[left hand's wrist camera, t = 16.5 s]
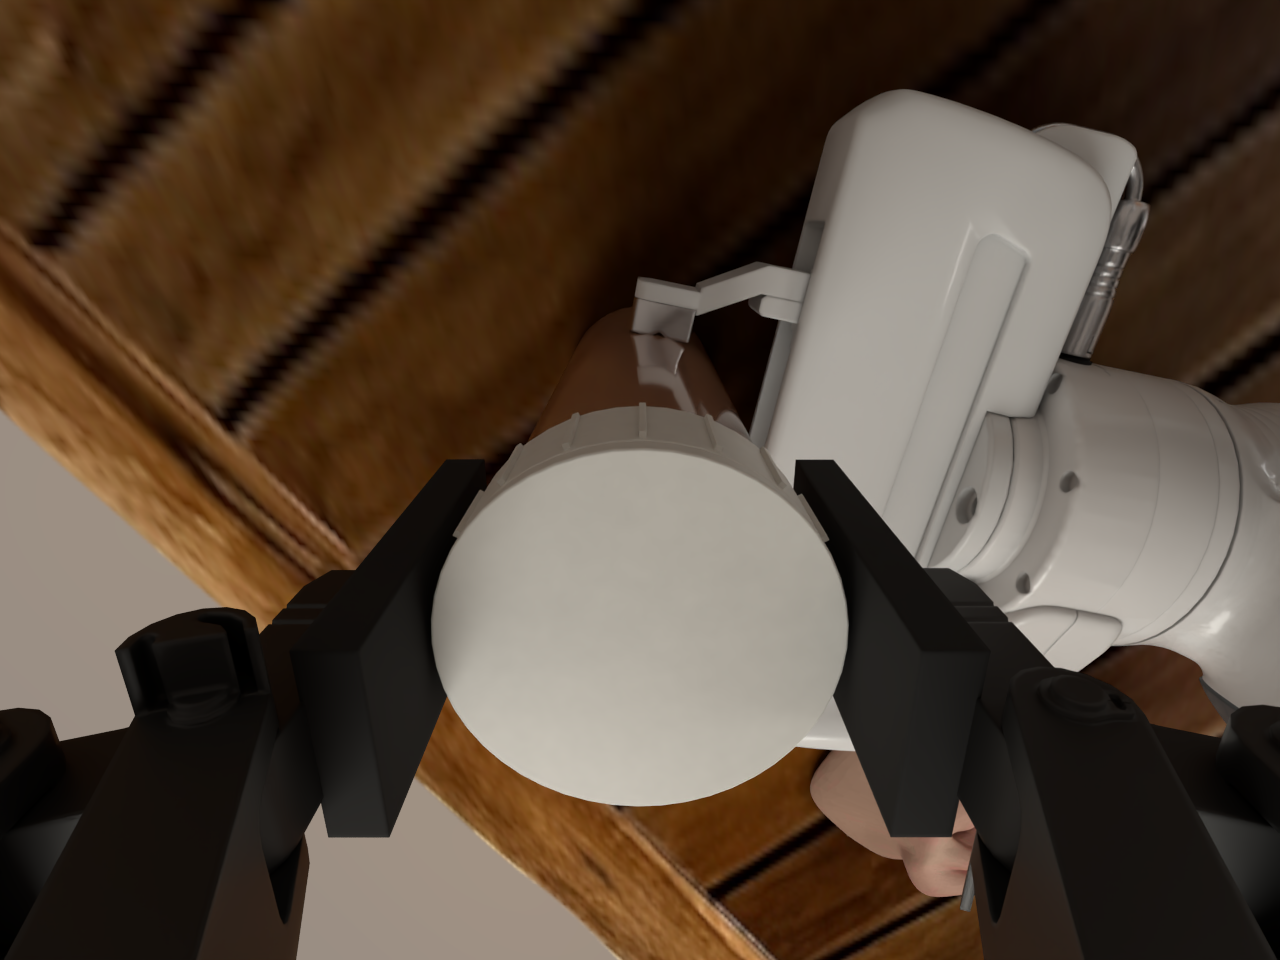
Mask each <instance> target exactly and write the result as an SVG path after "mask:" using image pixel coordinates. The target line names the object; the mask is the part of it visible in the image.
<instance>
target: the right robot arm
mask: <svg viewBox="0 0 1280 960" xmlns="http://www.w3.org/2000/svg"><path fill="white" fill-rule="evenodd" d="M1143 182H1144V180H1143V171H1142V166H1141V163H1140V160H1139V158H1138V156H1137V151H1136V148H1135V147H1134V146H1133V145H1132V144H1131V143H1130V142H1128V141H1127V140H1125V139H1124V138H1121V137H1119V136H1117V135H1115V134H1113V133H1110V132H1106V131H1101V130H1097V129H1092V128H1088V127H1084V126H1079V125H1075V124H1071V123H1066V122H1054V123H1047V124H1043V125H1040V126H1037V127H1034V128H1032V129H1030V130H1028V129H1026V128H1023V127H1021V126H1019V125H1016V124H1014V123H1011V122H1009V121H1007V120H1004V119H1002V118H999V117H997V116H994V115H992V114H989V113H986V112H984V111H981V110H978V109H975V108H972V107H970V106H967V105H964V104H961V103H958V102H955V101H952V100H948V99H945V98H942V97H938V96H935V95H932V94H928V93H924V92H920V91H915V90H909V89H899V90H892V91H888V92H885V93H882V94H879V95H877V96H875V97H873V98H871V99H869V100H867V101H865V102H863V103H862V104H860V105H859V106H857V107H856V108H854V109H853V110H851V111H850V112H849V113H847V114H846V115H845V116H843V117H842V118H841V119H839V120H838V121H837V122H836V123H835V124H834V125H833V126H832V127H831V129H830V130H829V132H828V135H827V138H826V141H825V145H824V148H823V152H822V156H821V160H820V164H819V167H818V171H817V175H816V179H815V183H814V187H813V190H812V194H811V198H810V202H809V206H808V210H807V213H806V217H805V221H804V225H803V229H802V232H801V236H800V240H799V244H798V248H797V252H796V255H795V259H794V263H793V267H792V268H787V267H782V266H777V265H772V264H767V263H762V262H754V263H751V264H749V265H746V266H743V267H740V268H737V269H735V270H732V271H729V272H726V273H723V274H721V275H718V276H715V277H712V278H709V279H707V280H704V281H701V282H698V283H696V287H692V286H687V285H682V284H677V283H672V282H667V281H663V280H658V279H653V278H645V277H638V280H637V286H636V291H635V296H634V301H633V307H632V313H631V318H630V324H629V330H631V331H633V332H637V333H640V334H648V335H654V334H656V333H658V332H660V333H661V334H662V335H663V336H664V337H665V338H669V339H672V340H675V341H680V342H686V343H688V342H689V338H690V333H691V329H692V325H693V321H694V317H695V315H696V316H697V315H700V314H703V313H706V312H709V311H712V310H715V309H718V308H721V307H724V306H727V305H730V304H733V303H736V302H739V301H742V300H745V299H748V298H749V301H748V304H749V306H750V308H751V309H753V310H754V311H756V312H757V313H758V314H760V315H761V316H764V317H769V318H773V319H778V324H777V328H776V332H775V336H774V340H773V343H772V347H771V351H770V355H769V359H768V363H767V366H766V370H765V374H764V378H763V382H762V385H761V389H760V393H759V397H758V401H757V405H756V408H755V412H754V416H753V420H752V424H751V428H750V431H749V436H750V438H751V440H752V442H753V444H754V445H756V446H757V447H758V448H759V449H761V448H762V447H763V446H764V447H765V448H766V449H767V450H768V452H769V454H770V455H771V457H772V459H773V461H774V462H775V464H776V466H777V467H778V468H779V469H780V471H781V472H782V473H783V474H784V475H785V477H786V478H787V480H788V481H789V483H790V484H791V486H792V488H793V485H794V473H795V461H796V460H834V461H835V462H836V463H837V464H838V466H839V467H840V468H841V469H842V470H843V472H844V473H845V474H846V475H847V477H848V478H849V479H850V480H851V481H852V483H853V484H854V485H855V486H856V488H857V489H858V490H859V491H860V492H861V494H862V495H863V496H864V497H865V498H866V500H867V501H868V502H869V503H870V505H871V506H872V507H873V508H874V509H875V511H876V512H877V513H878V514H879V515H880V517H881V518H882V519H883V520H884V522H885V523H886V524H887V525H888V526H889V528H890V529H891V530H892V531H893V533H894V534H895V535H896V536H897V537H898V539H899V540H900V541H901V542H902V543H903V545H904V546H905V547H906V548H907V550H908V551H909V552H910V553H911V554H912V556H913V557H914V558H915V559H916V561H917V562H918V563H919V564H920V565H921V567H922V568H950V569H951V570H953V571H955V572H957V573H958V574H960V575H962V576H964V577H965V578H967V579H969V580H971V581H972V582H974V583H976V584H977V585H978V586H979V587H980V588H981V589H982V590H983V591H984V593H985V594H986V595H987V596H988V597H989V598H990V599H991V600H992V601H993V602H994V606H998V607H999V609H1000V610H1001V611H1002V612H1003V613H1004V614H1005V615H1006V616H1007V617H1008V622H1013V624H1014V625H1015V626H1016V627H1017V628H1018V629H1019V630H1020V631H1021V632H1022V633H1023V634H1024V635H1025V636H1026V637H1027V638H1028V640H1029V641H1030V642H1031V643H1032V644H1033V645H1034V646H1035V647H1036V648H1037V649H1038V650H1039V651H1040V652H1041V653H1042V655H1043V656H1044V657H1045V658H1046V659H1047V660H1048V661H1049V662H1050V663H1051V664H1052V665H1053V666H1054V667H1055V668H1064V669H1068V670H1071V671H1075V672H1078V671H1080V670H1081V669H1082V668H1084V667H1085V666H1086V665H1088V664H1089V663H1090V662H1092V661H1093V660H1094V659H1096V658H1097V657H1099V656H1100V655H1101V654H1102V653H1104V652H1105V651H1106V650H1107V649H1108V648H1109V647H1110V646H1126V645H1154V646H1160V647H1164V648H1167V649H1170V650H1173V651H1175V652H1178V653H1180V654H1182V655H1184V656H1186V657H1188V658H1190V659H1191V660H1193V661H1195V662H1196V663H1197V664H1198V665H1199V666H1200V667H1201V669H1202V671H1203V676H1202V677H1200V678H1199V680H1200V682H1201V684H1202V687H1203V689H1204V691H1205V692H1206V694H1207V696H1208V698H1209V699H1210V701H1211V703H1212V704H1213V706H1214V707H1215V709H1216V710H1217V711H1218V713H1219V714H1220V716H1221V717H1222V718H1223V720H1224V721H1225V722H1226V724H1227V723H1228V720H1229V717H1230V715H1231V714H1232V713H1233V712H1234V711H1236V710H1237V709H1239V708H1240V707H1242V706H1252V705H1269V706H1276V707H1280V403H1249V404H1240V405H1230V404H1227V403H1226V402H1224V401H1223V400H1221V399H1219V398H1218V397H1216V396H1214V395H1212V394H1210V393H1208V392H1206V391H1204V390H1202V389H1200V388H1198V387H1196V386H1193V385H1190V384H1186V383H1183V382H1180V381H1177V380H1172V379H1166V378H1161V377H1156V376H1152V375H1147V374H1142V373H1137V372H1132V371H1127V370H1122V369H1117V368H1112V367H1108V366H1102V365H1098V364H1094V363H1092V362H1091V361H1090V359H1091V356H1092V354H1093V352H1094V349H1095V347H1096V345H1097V342H1098V340H1099V338H1100V335H1101V333H1102V331H1103V328H1104V326H1105V324H1106V321H1107V319H1108V317H1109V314H1110V311H1111V308H1112V305H1113V303H1114V300H1113V298H1115V296H1116V292H1117V291H1116V290H1115V289H1116V288H1118V285H1119V282H1120V281H1119V279H1120V278H1121V276H1122V274H1123V269H1124V268H1125V267H1126V264H1127V262H1128V260H1129V258H1130V255H1131V254H1134V252H1135V251H1136V249H1137V247H1138V246H1139V244H1140V241H1141V239H1142V237H1143V234H1144V232H1145V229H1146V226H1147V222H1148V218H1149V214H1150V205H1149V204H1147V203H1145V202H1140V201H1141V198H1142V192H1143ZM1125 186H1126V190H1125V197H1124V199H1120V198H1121V196H1122V193H1123V191H1124V188H1125ZM796 747H806V748H815V749H826V750H839V751H855V749H854V747H853V744H852V742H851V739H850V737H849V734H848V732H847V729H846V727H845V724H844V722H843V720H842V717H841V715H840V712H839V710H838V707H837V705H836V702H835V700H834V698H833V696H832V698H831V699H830V701H829V703H828V705H827V707H826V709H825V710H824V712H823V714H822V715H821V717H820V718H819V719H818V721H817V722H816V723H815V725H814V726H813V727H812V729H811V730H810V731H809V733H808V734H807V735H806V736H805V737H804V738H803V739H802V740H801V741H800V742H799V743H798V744H797V745H796Z"/></svg>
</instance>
